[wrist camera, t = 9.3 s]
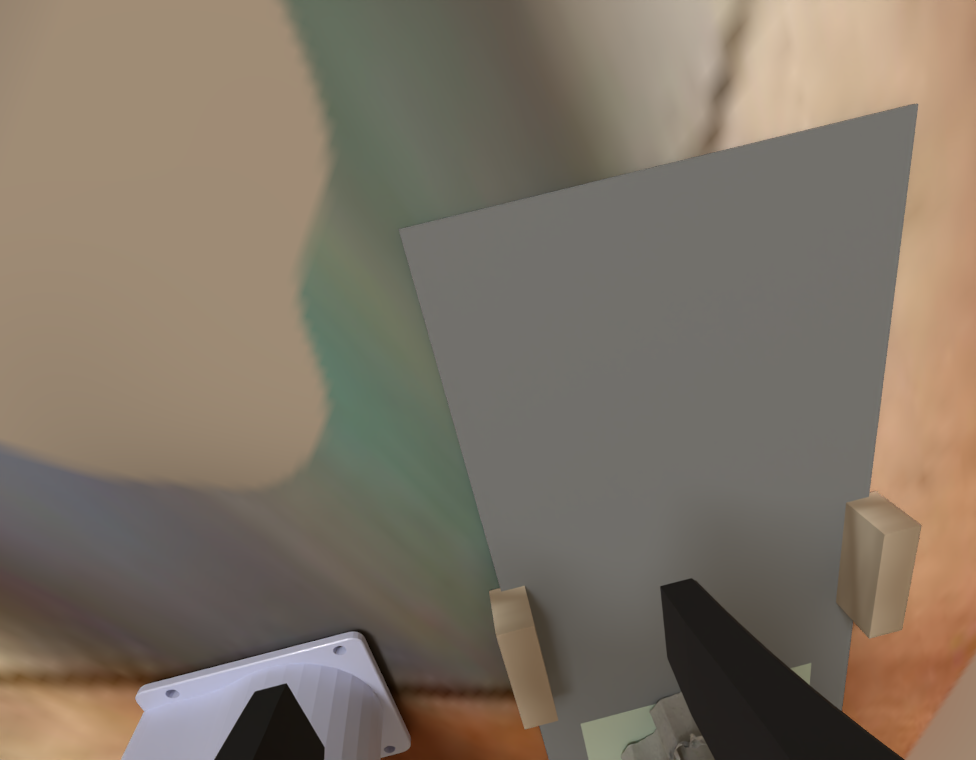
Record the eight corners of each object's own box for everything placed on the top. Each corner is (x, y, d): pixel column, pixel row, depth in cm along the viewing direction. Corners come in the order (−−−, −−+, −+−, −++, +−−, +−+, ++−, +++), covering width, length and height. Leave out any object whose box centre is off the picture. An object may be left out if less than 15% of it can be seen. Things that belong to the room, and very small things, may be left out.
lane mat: (574, 849, 31) (575, 853, 31) (398, 229, 15) (398, 230, 15) (830, 780, 31) (832, 784, 31) (912, 104, 16) (918, 103, 16)
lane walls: (516, 681, 24) (524, 729, 22) (489, 591, 22) (496, 635, 20) (863, 590, 25) (902, 629, 23) (876, 491, 22) (921, 525, 20)
